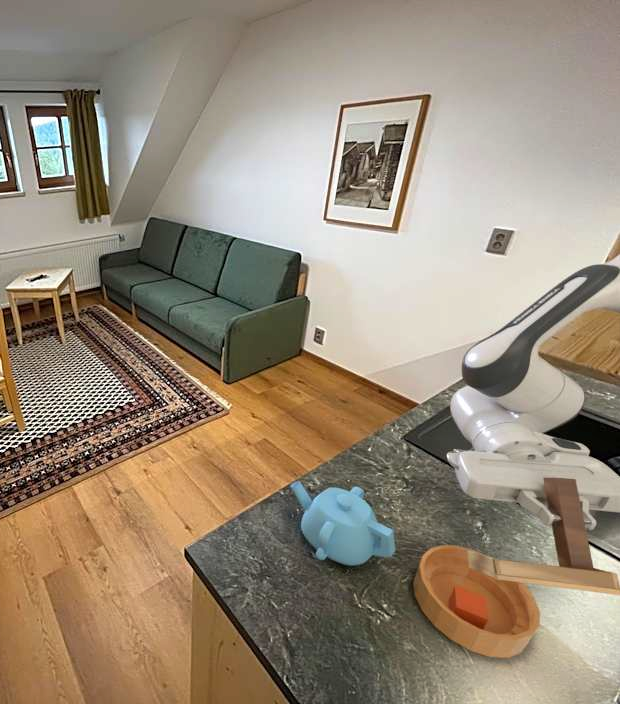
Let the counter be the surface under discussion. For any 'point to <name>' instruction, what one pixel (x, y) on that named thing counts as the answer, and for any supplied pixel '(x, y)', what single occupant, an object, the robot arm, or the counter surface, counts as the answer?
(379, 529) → the teapot
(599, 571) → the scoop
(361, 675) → the counter surface
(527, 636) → the bowl
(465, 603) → the block
